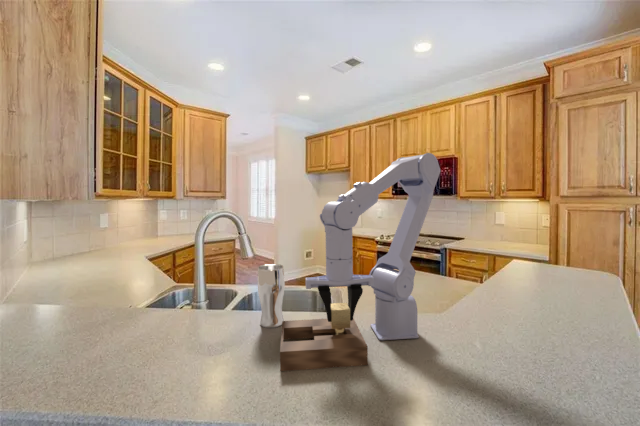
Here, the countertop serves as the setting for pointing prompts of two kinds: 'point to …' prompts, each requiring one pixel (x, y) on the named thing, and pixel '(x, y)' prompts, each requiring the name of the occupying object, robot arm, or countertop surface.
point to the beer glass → (271, 294)
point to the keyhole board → (321, 346)
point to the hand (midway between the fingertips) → (339, 319)
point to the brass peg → (340, 317)
